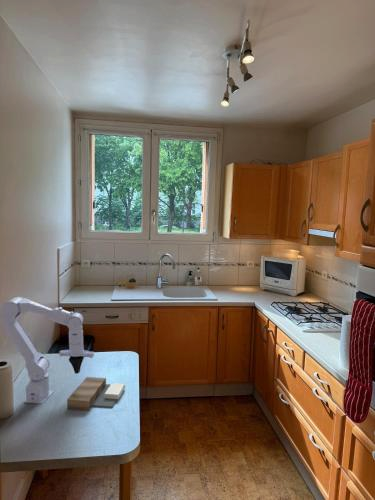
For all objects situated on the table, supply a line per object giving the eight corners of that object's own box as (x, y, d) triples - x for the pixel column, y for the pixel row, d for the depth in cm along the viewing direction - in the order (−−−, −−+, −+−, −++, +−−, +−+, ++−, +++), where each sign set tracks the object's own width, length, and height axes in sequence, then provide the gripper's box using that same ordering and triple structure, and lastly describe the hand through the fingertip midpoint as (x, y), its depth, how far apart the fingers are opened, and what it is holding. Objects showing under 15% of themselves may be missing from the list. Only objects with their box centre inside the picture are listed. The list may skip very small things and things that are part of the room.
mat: (112, 407, 137) (112, 406, 136) (92, 406, 138) (92, 405, 137) (125, 386, 153) (125, 385, 153) (106, 385, 154) (106, 384, 154)
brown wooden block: (89, 410, 135) (88, 401, 134) (67, 409, 136) (66, 399, 135) (106, 386, 153) (105, 378, 153) (86, 385, 154) (86, 376, 154)
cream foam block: (104, 393, 142) (104, 398, 142) (118, 394, 142) (118, 399, 142) (111, 383, 151) (111, 387, 151) (124, 383, 150) (125, 388, 151)
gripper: (96, 339, 148) (97, 369, 150) (64, 337, 150) (65, 367, 151) (89, 345, 141) (90, 376, 143) (56, 343, 143) (57, 374, 144)
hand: (77, 372), depth 147 cm, fingers closed
